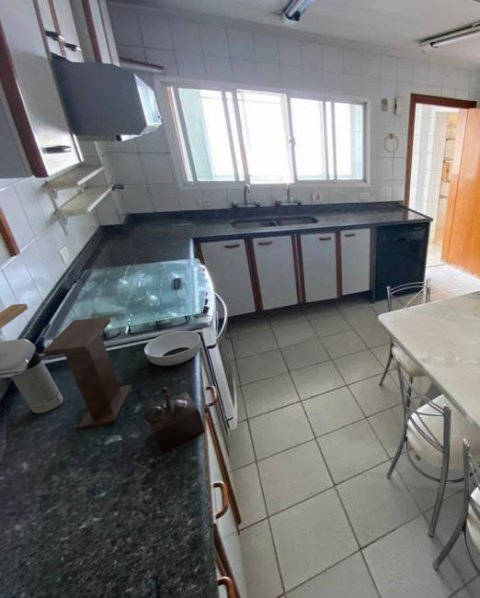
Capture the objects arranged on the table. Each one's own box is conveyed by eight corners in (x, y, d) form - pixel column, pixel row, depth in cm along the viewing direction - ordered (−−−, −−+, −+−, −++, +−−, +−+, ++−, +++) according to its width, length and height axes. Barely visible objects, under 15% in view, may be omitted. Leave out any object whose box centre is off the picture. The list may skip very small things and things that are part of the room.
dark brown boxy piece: (150, 435, 90) (127, 384, 82) (194, 414, 97) (178, 365, 89) (166, 472, 80) (143, 419, 72) (214, 445, 87) (198, 394, 79)
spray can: (59, 394, 100) (28, 339, 92) (68, 403, 97) (37, 347, 88) (29, 407, 95) (-7, 351, 86) (37, 417, 92) (1, 360, 83)
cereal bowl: (149, 379, 110) (143, 362, 107) (150, 353, 123) (144, 338, 119) (206, 363, 119) (202, 347, 116) (202, 341, 131) (197, 325, 128)
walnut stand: (79, 431, 89) (42, 351, 78) (102, 393, 103) (73, 320, 92) (115, 424, 92) (85, 346, 81) (133, 388, 105) (109, 316, 95)
